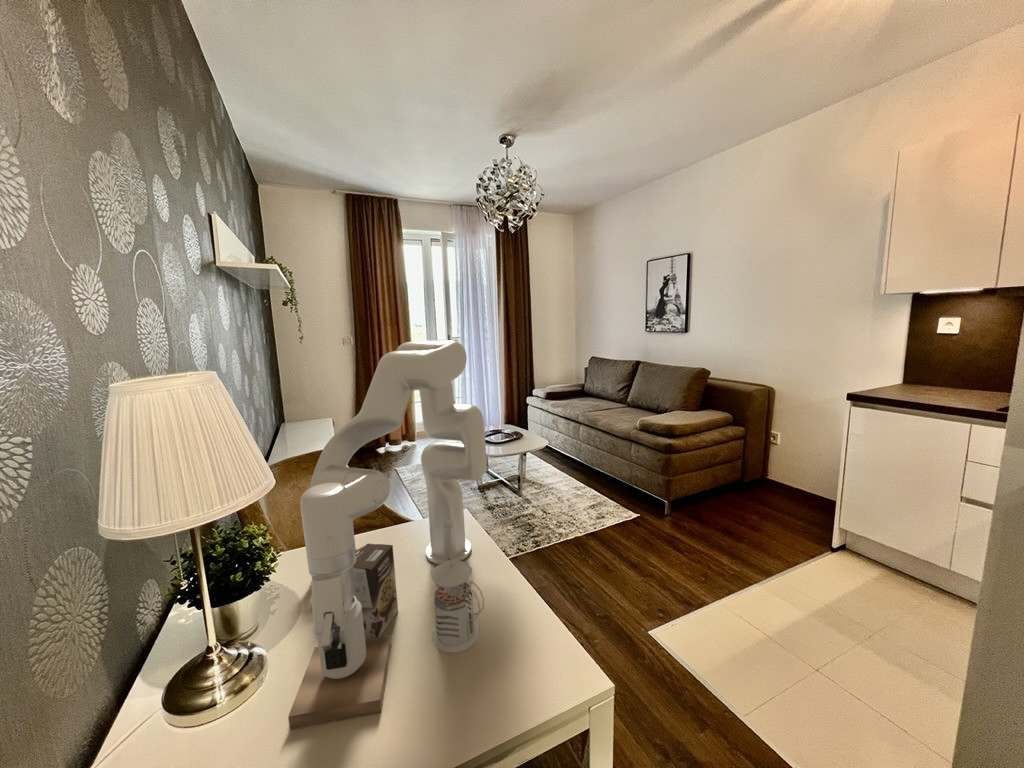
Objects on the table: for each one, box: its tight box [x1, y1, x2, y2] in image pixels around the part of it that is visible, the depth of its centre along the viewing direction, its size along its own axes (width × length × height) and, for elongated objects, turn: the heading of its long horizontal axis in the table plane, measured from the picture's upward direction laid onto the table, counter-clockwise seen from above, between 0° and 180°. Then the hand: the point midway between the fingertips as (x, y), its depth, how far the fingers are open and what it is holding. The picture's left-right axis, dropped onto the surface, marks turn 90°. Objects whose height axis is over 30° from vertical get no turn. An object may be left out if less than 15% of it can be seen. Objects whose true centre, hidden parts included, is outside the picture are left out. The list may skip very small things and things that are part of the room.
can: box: [316, 596, 366, 679], centre depth 71 cm, size 8×8×12 cm
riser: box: [287, 634, 392, 731], centre depth 72 cm, size 14×14×2 cm
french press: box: [431, 520, 485, 653], centre depth 80 cm, size 10×12×25 cm
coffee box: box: [353, 543, 399, 639], centre depth 85 cm, size 9×6×16 cm
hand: (342, 647), depth 71 cm, fingers closed on can, 7 cm apart
